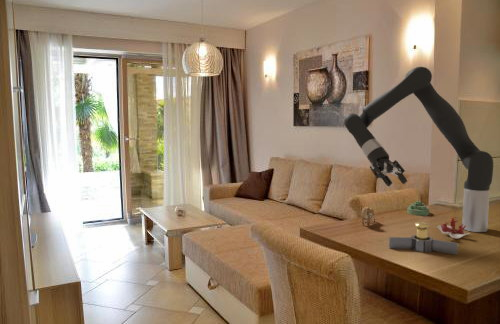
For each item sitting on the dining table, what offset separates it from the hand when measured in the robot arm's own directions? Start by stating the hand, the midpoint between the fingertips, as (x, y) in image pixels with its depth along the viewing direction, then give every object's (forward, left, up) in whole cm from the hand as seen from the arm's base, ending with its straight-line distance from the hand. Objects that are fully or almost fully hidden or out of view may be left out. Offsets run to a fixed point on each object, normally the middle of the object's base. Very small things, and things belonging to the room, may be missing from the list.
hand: (397, 183), depth 152 cm
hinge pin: (+7, +11, -22) cm, 25 cm away
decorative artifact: (-48, -2, -22) cm, 53 cm away
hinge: (+9, +12, -22) cm, 26 cm away
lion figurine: (-14, -16, -22) cm, 31 cm away
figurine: (-14, +18, -22) cm, 32 cm away
